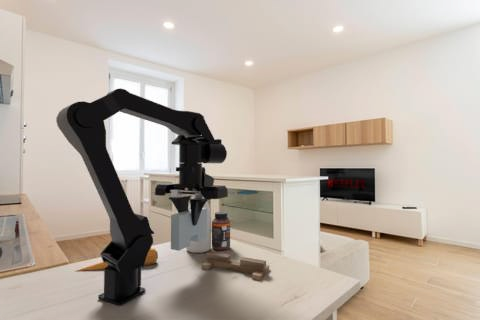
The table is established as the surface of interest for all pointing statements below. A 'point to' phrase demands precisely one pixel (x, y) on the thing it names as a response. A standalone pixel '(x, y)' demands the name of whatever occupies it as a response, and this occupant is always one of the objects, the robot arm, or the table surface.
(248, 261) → the walnut crossed blocks
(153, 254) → the carrot
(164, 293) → the table surface
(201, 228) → the pale blue flat block
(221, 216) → the supplement bottle
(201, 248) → the green-capped white bottle
